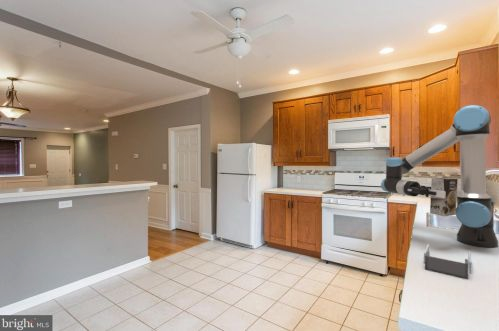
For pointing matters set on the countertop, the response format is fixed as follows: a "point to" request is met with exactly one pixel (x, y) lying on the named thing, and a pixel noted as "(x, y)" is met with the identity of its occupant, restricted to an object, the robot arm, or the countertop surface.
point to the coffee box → (449, 202)
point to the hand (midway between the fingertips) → (454, 194)
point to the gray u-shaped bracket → (447, 265)
